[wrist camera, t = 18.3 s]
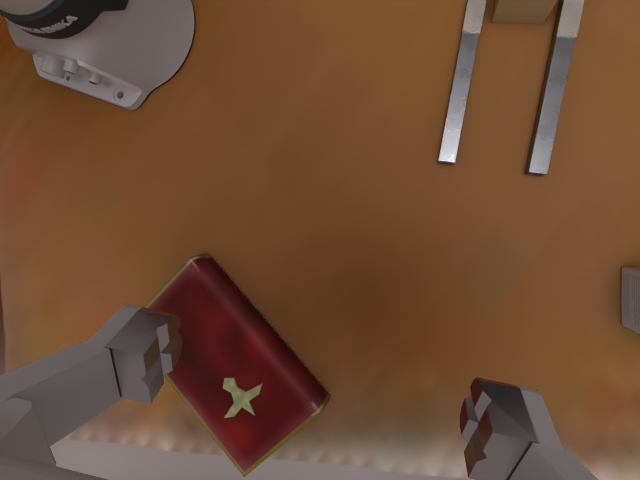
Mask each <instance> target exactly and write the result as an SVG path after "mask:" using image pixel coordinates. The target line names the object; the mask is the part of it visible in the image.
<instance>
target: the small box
mask: <svg viewBox="0 0 640 480" xmlns="http://www.w3.org/2000/svg"><path fill="white" fill-rule="evenodd" d="M621 317H622V322H621V324H622V326H624V327H626V328H628V329H630V330H632V331H634V332H636V333H638V334H640V266H624V267H622V284H621Z"/></svg>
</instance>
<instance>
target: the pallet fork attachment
mask: <svg viewBox="0 0 640 480" xmlns="http://www.w3.org/2000/svg"><path fill="white" fill-rule="evenodd" d="M485 5H486V0H468V3H467V9H466V14H465V19H464V25H463V30H462V36H461V42H460V47H459V52H458V58H457V63H456V68H455V74H454V79H453V84H452V90H451V95H450V100H449V106H448V111H447V117H446V122H445V127H444V133H443V138H442V143H441V149H440V154H439V159H438V163H443V164H451V165H454V163H455V159H456V154H457V149H458V144H459V138H460V133H461V128H462V123H463V117H464V112H465V107H466V102H467V96H468V91H469V86H470V80H471V75H472V70H473V65H474V59H475V54H476V49H477V44H478V38H479V33H480V32H481V26H482V21H483V16H484V11H485ZM583 5H584V0H560V2H559V7H558V12H557V17H556V22H555V27H554V32H553V37H552V42H551V46H550V51H549V56H548V61H547V66H546V71H545V76H544V81H543V86H542V90H541V95H540V100H539V105H538V110H537V115H536V120H535V125H534V130H533V134H532V139H531V144H530V149H529V154H528V159H527V164H526V169H525V174H529V175H537V176H543V175H546V174H547V171H548V166H549V161H550V157H551V152H552V147H553V142H554V137H555V133H556V128H557V123H558V118H559V113H560V109H561V104H562V99H563V94H564V90H565V85H566V80H567V75H568V70H569V66H570V61H571V56H572V51H573V46H574V42H575V38H576V37H577V34H578V29H579V24H580V19H581V15H582V10H583Z"/></svg>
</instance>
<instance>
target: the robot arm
mask: <svg viewBox="0 0 640 480" xmlns="http://www.w3.org/2000/svg"><path fill="white" fill-rule="evenodd" d="M0 14H1V15H2V16H4V18H5V19H6V20H7V25H8V30H9V33H10V35H11V38H12V40H13V41H14V43H15V44H16V45H17V46H18V47H20V48H22V49H24V50H26V51H28V52H30V53H32V54H33V60H34V64H35V67H36V70H37V72H38V74H39V76H41V77H43V78H45V79H47V80H48V81H51V82H54V83H56V84H59V85H62V86H65V87H67V88H70V89H73V90H76V91H78V92H81V93H84V94H87V95H89V96H92V97H95V98H98V99H100V100H103V101H106V102H109V103H111V104H114V105H117V106H120V107H122V108H125V109H128V110H135V109H137V108H138V107H139V106H140V105H141V104H142V103H143V101H144V100H145V99H146V97H147V96H148V94H149V93H150V92H151V91H152V90H154V89H155V88H156V87H158V86H160V85H161V84H163V83H164V82H166V81H167V80H168V79H169V78H171V77H172V76H173V75H174V74H175V73H176V71H177V70H178V69H179V68H180V66H181V65H182V63H183V62H184V60H185V58H186V56H187V54H188V52H189V49H190V46H191V43H192V39H193V33H194V11H193V6H192V2H191V0H0ZM122 95H123V97H122ZM180 326H181V323H180V317H179V316H177V315H175V314H171V313H166V312H162V311H158V310H154V309H149V308H145V307H139V306H135V305H131V304H125V305H123V306H121V307H120V308H119V309H118V310H117V311H116V312H115V313H114V314H113V315H112V316H111V317H110V318H109V319H108V320H107V322H106V323H105V324H104V325H103V326H102V327H101V328H100V329H99V330H98V331H97V332H96V333H95V334H94V335H93V336H92V337H91V338H90V339H89V340H88V341H87V342H86V343H81V342H79V343H77V344H75V345H72V346H70V347H68V348H65V349H63V350H60V351H58V352H56V353H53V354H51V355H48V356H46V357H44V358H41V359H39V360H36V361H34V362H32V363H29V364H27V365H25V366H22V367H20V368H17V369H15V370H13V371H10V372H8V373H5V374H3V375H1V376H0V480H107V479H103V478H99V477H95V476H92V475H88V474H83V473H79V472H76V471H72V470H68V469H64V468H60V467H56V461H55V459H54V456H53V454H52V451H51V449H50V446H51V445H53V444H54V443H56V442H57V441H59V440H61V439H62V438H64V437H65V436H67V435H68V434H70V433H71V432H72V431H74V430H75V429H77V428H78V427H80V426H81V425H83V424H84V423H86V422H87V421H89V420H90V419H92V418H93V417H95V416H96V415H98V414H99V413H101V412H102V411H104V410H105V409H107V408H108V407H110V406H111V405H113V404H114V403H116V402H117V401H119V400H120V399H121V398H126V399H130V400H135V401H140V402H145V403H150V404H151V403H152V401H153V400H154V398H155V397H156V395H157V394H158V392H159V391H160V389H161V388H162V386H163V385H164V378H163V376H164V375H165V374H167V373H169V372H171V371H173V369H174V367H175V366H176V364H177V362H178V360H179V357H180V354H181V351H182V337H181V336H180V335H179V333H178V332H177V330H178V329H179V328H180ZM470 389H471V394H472V395H471V396H469V397H467V398H465V400H464V402H463V405H462V407H461V414H460V429H461V435H462V437H463V438H464V439H465V440H466V442H467V443H468V445H467V447H466V449H465V451H464V455H465V461H466V467H467V473H468V478H471V479H475V480H598V479H597V478H596V477H595V476H594V475H593V474H592V473H591V472H590V471H589V470H588V469H587V468H586V467H585V466H584V465H583V464H582V463H581V462H580V461H579V460H578V459H577V458H576V457H575V456H574V455H573V454H572V453H571V452H570V451H568V450H564V449H563V448H562V446H561V443H560V441H559V438H558V436H557V433H556V431H555V428H554V425H553V423H552V420H551V418H550V415H549V413H548V410H547V408H546V405H545V403H544V400H543V398H542V395H541V393H540V392H539V391H538V390H537V389H532V388H527V387H522V386H515V385H512V384H507V383H502V382H497V381H492V380H487V379H482V378H476V379H474V380H473V382H472V384H471V386H470ZM120 397H121V398H120Z"/></svg>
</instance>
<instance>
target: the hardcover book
mask: <svg viewBox="0 0 640 480" xmlns="http://www.w3.org/2000/svg"><path fill="white" fill-rule="evenodd" d="M145 308H149V309H154V310H158V311H162V312H166V313H171V314H175V315H177V316H179V317H180V323H181V326H180V328H179V329H178V330H177V332H178V333H179V335H180V336H181V337H182V351H181V354H180V357H179V360H178V362H177V364H176V366H175V367H174V369H173V371H171V372H169V373H167V374H165V375H164V376H165V377H166V379H167V380H168V381H169V382H170V384H171V385H172V386H173V387H174V389H175V390H176V391H177V392H178V394H179V395H180V396H181V398H182V399H183V400H184V401H185V403H186V404H187V405H188V406H189V408H190V409H191V410H192V412H193V413H194V414H195V415H196V417H197V418H198V419H199V420H200V422H201V423H202V424H203V426H204V427H205V428H206V429H207V431H208V432H209V433H210V434H211V436H212V437H213V438H214V439H215V441H216V442H217V443H218V445H219V446H220V447H221V448H222V450H223V451H224V452H225V453H226V455H227V456H228V457H229V459H230V460H231V461H232V462H233V464H234V465H235V466H236V467H237V469H238V470H239V471H240V472H241V474H242V475H243V476H244V477H245V476H246V475H247V474H248V473H250V472H251V471H252V470H253V469H254V468H256V466H258V465H259V464H260V463H261V462H263V461H264V460H265V459H266V458H267V457H269V456H270V455H271V454H272V453H273V452H275V451H276V450H277V449H278V448H279V447H280V446H282V445H283V444H284V443H285V442H286V441H288V440H289V439H290V438H291V437H292V436H294V435H295V434H296V433H297V432H298V431H299V430H301V429H302V428H303V427H304V426H305V425H307V424H308V423H309V422H310V421H311V420H313V419H314V418H315V417H316V416H317V415H319V414H320V413H321V412H322V410H323V409H324V408H325V406H326V404H327V403H328V401H329V398H330V396H329V395H328V393H327V392H326V391H325V390H324V389H323V388H322V386H321V385H320V384H319V383H318V382H317V381H316V379H315V378H314V377H313V376H312V375H311V373H310V372H309V371H308V370H307V369H306V368H305V366H304V365H303V364H302V363H301V362H300V361H299V359H298V358H297V357H296V356H295V355H294V354H293V352H292V351H291V350H290V349H289V348H288V347H287V345H286V344H285V343H284V342H283V341H282V340H281V338H280V337H279V336H278V335H277V334H276V333H275V331H274V330H273V329H272V328H271V327H270V326H269V324H268V323H267V322H266V321H265V320H264V318H263V317H262V316H261V315H260V314H259V313H258V311H257V310H256V309H255V308H254V307H253V306H252V304H251V303H250V302H249V301H248V300H247V299H246V297H245V296H244V295H243V294H242V293H241V292H240V290H239V289H238V288H237V287H236V286H235V285H234V283H233V282H232V281H231V280H230V279H229V278H228V276H227V275H226V274H225V273H224V272H223V270H222V269H221V268H220V267H219V266H218V265H217V263H216V262H215V261H214V260H213V259H212V258H211V256H210V255H209V254H201V255H197V256H194V257H192V258H190V259H189V260H188V261H187V262H186V263H185V264H184V266H183V267H182V268H181V269H180V270H179V271H178V272H177V273H176V274H175V275H174V276H173V277H172V278H171V279H170V280H169V281H168V282H167V283H166V285H165V286H164V287H163V288H162V289H161V290H160V291H159V292H158V293H157V294H156V295H155V296H154V297H153V298H152V299H151V300H150V301H149V302H148V304H147V305H146V306H145Z"/></svg>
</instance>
